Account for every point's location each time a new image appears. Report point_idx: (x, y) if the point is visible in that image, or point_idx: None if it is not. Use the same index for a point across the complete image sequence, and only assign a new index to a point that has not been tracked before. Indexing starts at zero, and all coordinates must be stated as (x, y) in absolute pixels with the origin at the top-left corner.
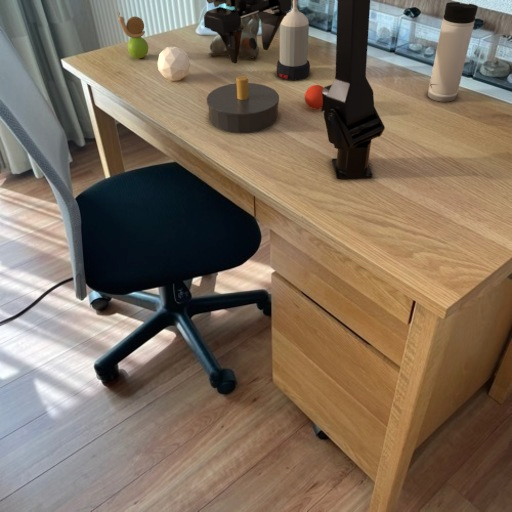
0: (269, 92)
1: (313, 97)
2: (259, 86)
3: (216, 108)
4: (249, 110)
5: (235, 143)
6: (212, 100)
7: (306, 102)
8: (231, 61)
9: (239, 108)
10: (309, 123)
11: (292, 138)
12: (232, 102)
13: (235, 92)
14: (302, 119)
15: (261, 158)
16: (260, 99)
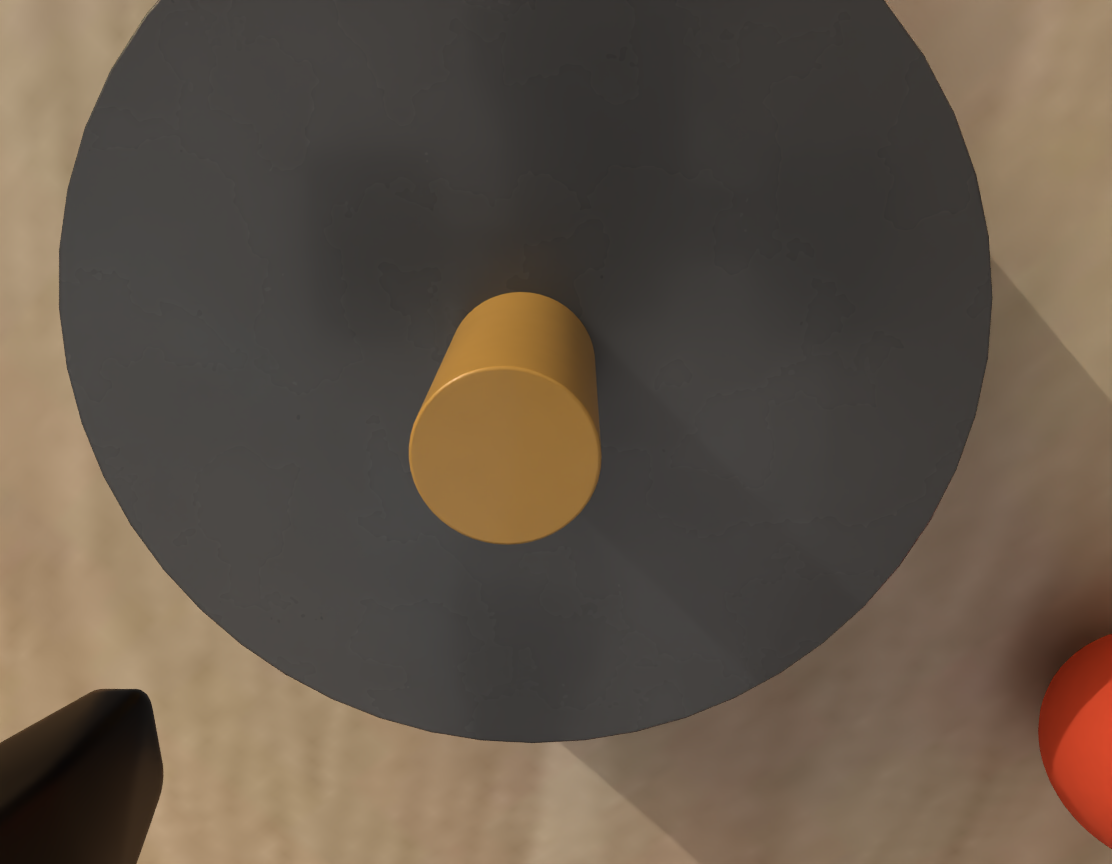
0: (840, 508)
1: (1079, 807)
2: (923, 293)
3: (82, 332)
4: (334, 636)
5: (136, 584)
6: (180, 117)
7: (1059, 684)
8: (86, 700)
9: (287, 529)
10: (813, 793)
11: (524, 835)
12: (334, 362)
13: (572, 176)
14: (841, 718)
15: (149, 847)
16: (620, 551)
